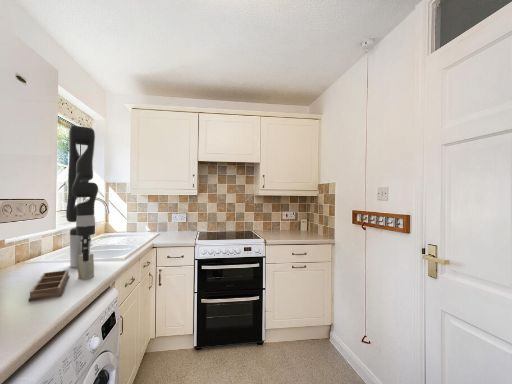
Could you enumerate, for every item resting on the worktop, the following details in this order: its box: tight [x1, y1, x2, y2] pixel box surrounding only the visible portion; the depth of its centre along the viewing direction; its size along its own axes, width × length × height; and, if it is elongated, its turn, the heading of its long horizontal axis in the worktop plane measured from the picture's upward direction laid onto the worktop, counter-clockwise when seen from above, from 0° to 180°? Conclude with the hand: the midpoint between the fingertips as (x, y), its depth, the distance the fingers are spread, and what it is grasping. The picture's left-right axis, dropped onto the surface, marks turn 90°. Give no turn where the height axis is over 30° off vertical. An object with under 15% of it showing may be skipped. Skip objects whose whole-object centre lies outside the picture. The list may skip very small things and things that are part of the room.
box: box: [77, 252, 95, 281], centre depth 126 cm, size 5×4×11 cm
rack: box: [28, 269, 70, 302], centre depth 113 cm, size 26×10×4 cm, turn 29°
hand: (86, 259), depth 126 cm, fingers open, 8 cm apart
